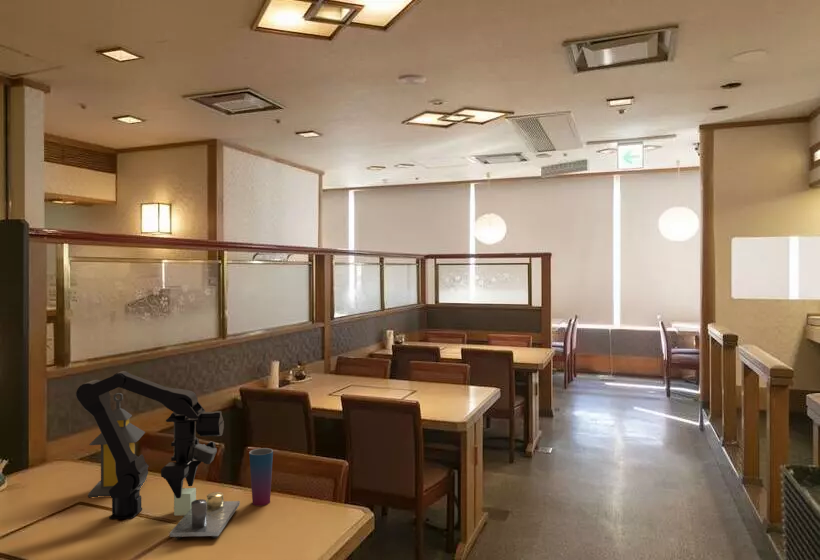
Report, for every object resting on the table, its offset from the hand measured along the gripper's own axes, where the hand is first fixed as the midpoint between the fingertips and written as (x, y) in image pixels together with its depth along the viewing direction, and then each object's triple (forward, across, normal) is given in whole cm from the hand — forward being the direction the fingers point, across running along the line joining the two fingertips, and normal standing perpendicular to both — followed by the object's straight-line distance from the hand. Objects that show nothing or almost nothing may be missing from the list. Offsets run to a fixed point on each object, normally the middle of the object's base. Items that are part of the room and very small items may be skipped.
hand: (184, 491), depth 160 cm
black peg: (+3, -15, -9) cm, 18 cm away
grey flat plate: (+6, -9, -9) cm, 14 cm away
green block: (+6, 0, 0) cm, 6 cm away
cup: (+6, +6, -20) cm, 22 cm away
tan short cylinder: (+3, -2, -9) cm, 10 cm away
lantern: (+6, +20, +28) cm, 35 cm away
